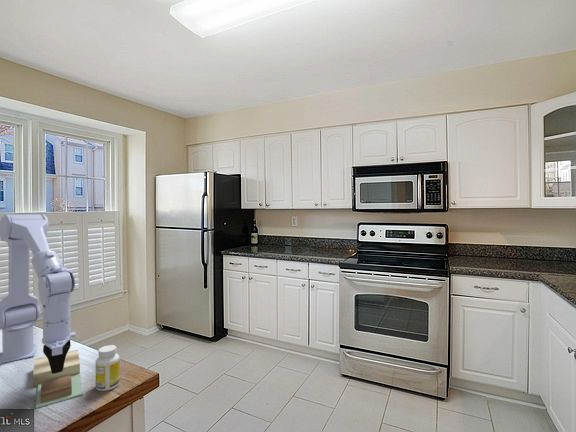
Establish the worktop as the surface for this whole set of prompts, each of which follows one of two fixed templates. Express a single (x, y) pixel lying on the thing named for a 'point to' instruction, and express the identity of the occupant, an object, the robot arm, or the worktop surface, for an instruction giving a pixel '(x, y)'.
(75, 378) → the green mat
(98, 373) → the supplement bottle
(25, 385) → the worktop surface
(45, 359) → the birch board
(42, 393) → the walnut coaster
